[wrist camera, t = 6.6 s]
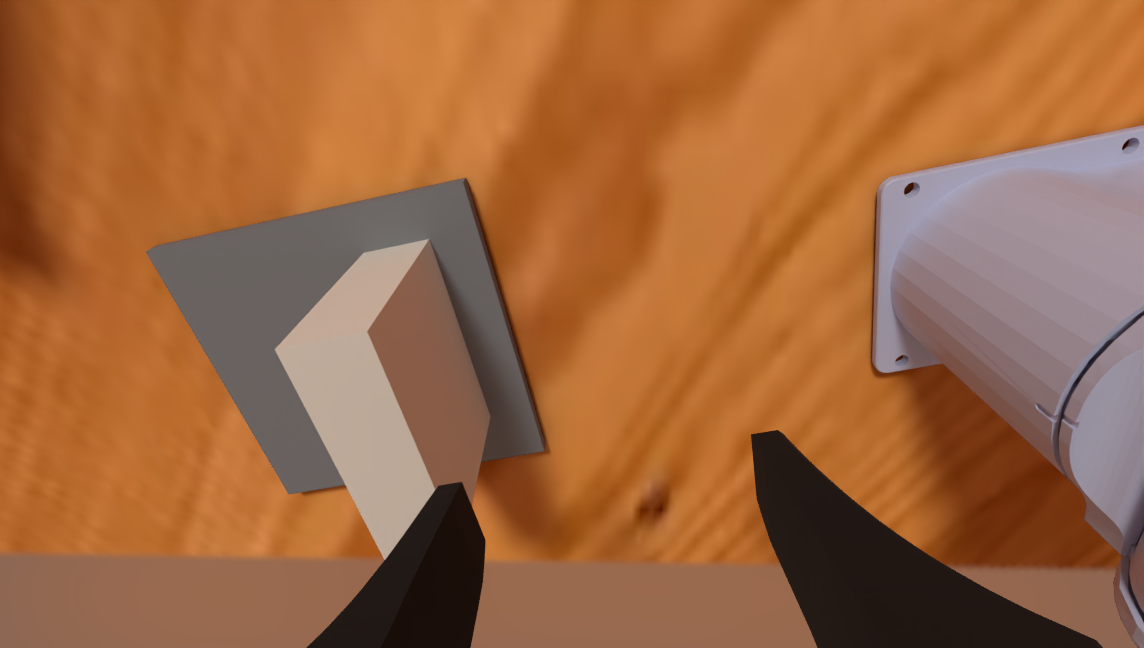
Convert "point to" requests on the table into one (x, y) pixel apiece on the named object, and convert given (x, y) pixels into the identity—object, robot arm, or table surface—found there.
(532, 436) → the mat
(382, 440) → the block
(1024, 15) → the table surface
